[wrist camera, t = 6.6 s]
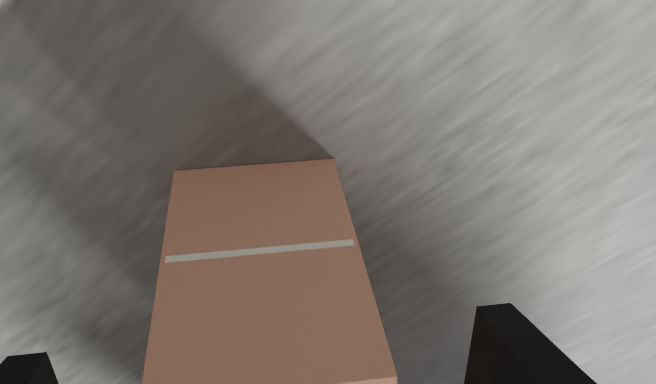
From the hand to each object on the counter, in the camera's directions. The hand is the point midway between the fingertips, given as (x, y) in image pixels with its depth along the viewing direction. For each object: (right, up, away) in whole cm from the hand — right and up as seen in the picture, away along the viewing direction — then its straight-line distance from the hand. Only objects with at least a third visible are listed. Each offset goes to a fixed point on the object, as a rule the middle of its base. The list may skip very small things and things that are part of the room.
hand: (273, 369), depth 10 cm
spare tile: (-1, +3, +5) cm, 6 cm away
